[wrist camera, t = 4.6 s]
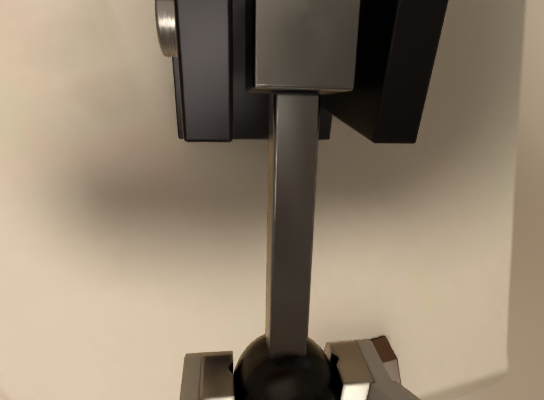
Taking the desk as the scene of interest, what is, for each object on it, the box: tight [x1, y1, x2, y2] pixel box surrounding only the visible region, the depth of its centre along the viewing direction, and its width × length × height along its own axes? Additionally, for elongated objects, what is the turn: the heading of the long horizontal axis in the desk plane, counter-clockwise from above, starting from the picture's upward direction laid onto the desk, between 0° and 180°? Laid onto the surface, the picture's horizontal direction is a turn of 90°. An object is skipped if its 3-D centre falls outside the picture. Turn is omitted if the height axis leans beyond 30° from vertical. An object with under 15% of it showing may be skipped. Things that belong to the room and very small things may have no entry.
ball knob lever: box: [233, 0, 362, 400], centre depth 9 cm, size 13×3×3 cm, turn 178°
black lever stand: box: [155, 0, 448, 144], centre depth 11 cm, size 10×8×12 cm
